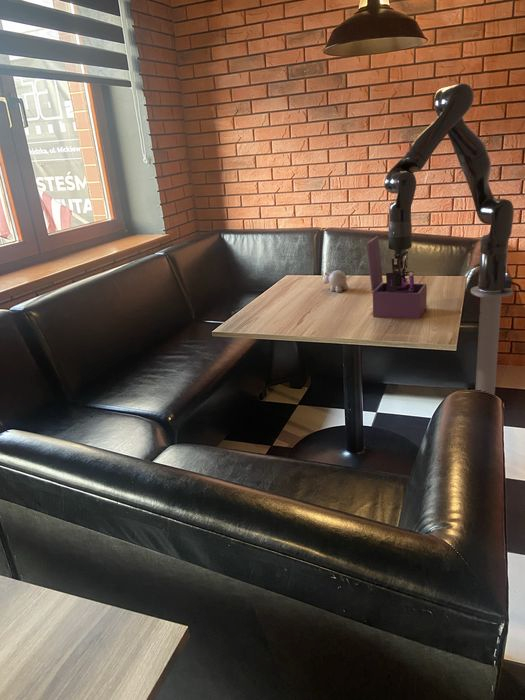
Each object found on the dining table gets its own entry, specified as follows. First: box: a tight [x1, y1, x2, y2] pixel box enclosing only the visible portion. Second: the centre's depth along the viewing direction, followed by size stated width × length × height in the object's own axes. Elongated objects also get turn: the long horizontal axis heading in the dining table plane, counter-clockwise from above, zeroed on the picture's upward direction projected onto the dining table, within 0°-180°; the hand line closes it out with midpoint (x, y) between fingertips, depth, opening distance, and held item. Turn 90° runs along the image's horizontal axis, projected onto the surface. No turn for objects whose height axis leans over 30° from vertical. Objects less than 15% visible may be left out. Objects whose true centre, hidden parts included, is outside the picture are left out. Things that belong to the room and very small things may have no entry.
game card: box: [385, 270, 415, 292], centre depth 183 cm, size 7×5×9 cm
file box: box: [372, 282, 428, 320], centre depth 185 cm, size 16×13×9 cm
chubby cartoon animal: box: [322, 269, 349, 293], centre depth 221 cm, size 7×12×8 cm, turn 36°
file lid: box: [366, 235, 384, 292], centre depth 184 cm, size 16×13×1 cm
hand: (400, 284), depth 183 cm, fingers closed on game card, 4 cm apart
